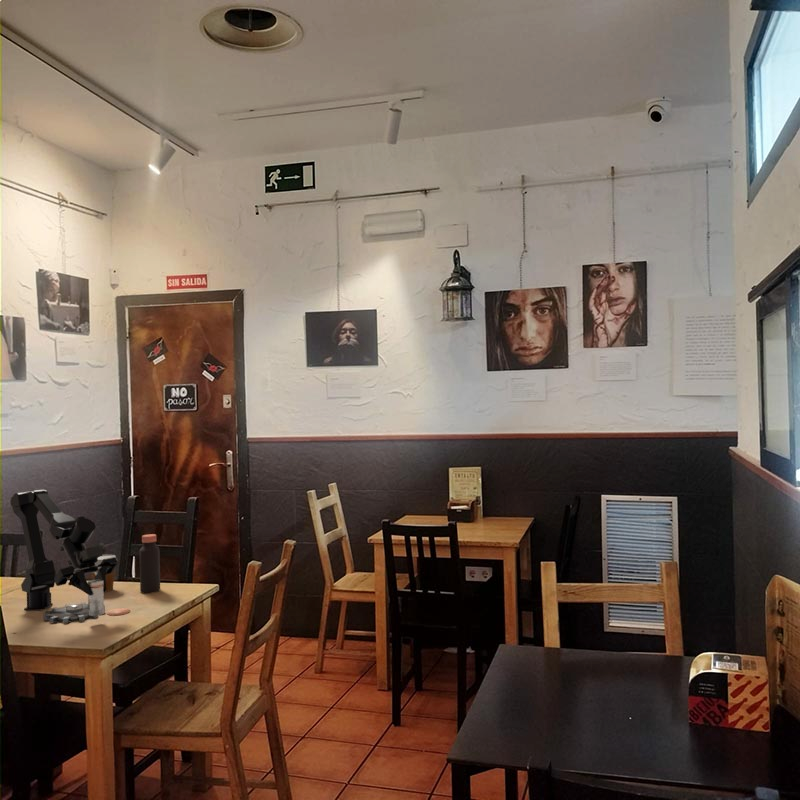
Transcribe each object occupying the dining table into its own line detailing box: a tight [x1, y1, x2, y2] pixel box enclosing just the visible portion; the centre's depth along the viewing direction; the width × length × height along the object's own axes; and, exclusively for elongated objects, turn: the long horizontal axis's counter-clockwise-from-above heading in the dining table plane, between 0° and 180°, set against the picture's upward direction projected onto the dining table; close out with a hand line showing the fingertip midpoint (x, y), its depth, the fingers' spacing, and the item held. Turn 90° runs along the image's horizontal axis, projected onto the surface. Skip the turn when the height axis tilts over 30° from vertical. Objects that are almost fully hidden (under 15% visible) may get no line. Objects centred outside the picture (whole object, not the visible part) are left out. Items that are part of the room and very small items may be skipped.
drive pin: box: [87, 579, 105, 616], centre depth 222 cm, size 4×4×10 cm
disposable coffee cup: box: [91, 554, 117, 593], centre depth 262 cm, size 10×10×12 cm
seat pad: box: [106, 607, 131, 616], centre depth 233 cm, size 7×7×1 cm
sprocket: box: [43, 601, 106, 624], centre depth 231 cm, size 18×18×3 cm
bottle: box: [139, 533, 161, 594], centre depth 259 cm, size 7×7×20 cm
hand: (98, 592), depth 221 cm, fingers closed on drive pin, 4 cm apart
